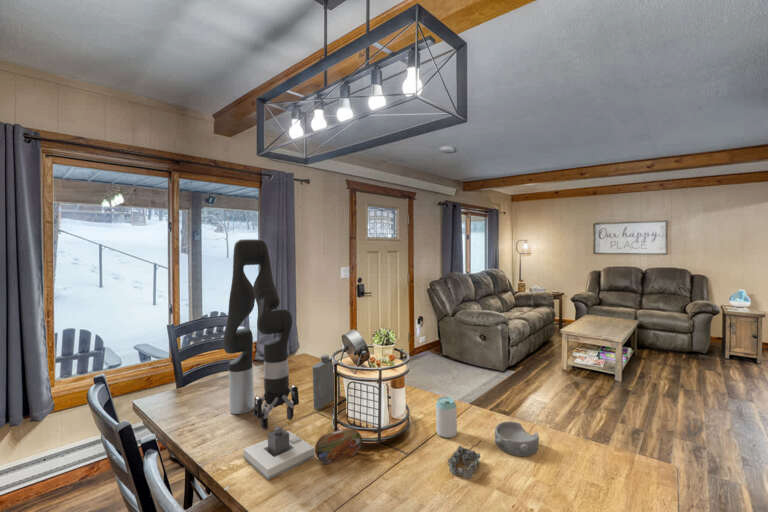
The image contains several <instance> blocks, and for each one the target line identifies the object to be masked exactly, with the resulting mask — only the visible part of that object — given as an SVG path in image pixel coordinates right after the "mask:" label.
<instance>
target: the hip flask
mask: <svg viewBox="0 0 768 512" xmlns="http://www.w3.org/2000/svg"><path fill="white" fill-rule="evenodd" d="M320 359H321V360H320V361H319V362H317V363H316V364H313V365H312V391H313V392H312V396H313V397H312V398H313V410H314V409H316V410H315V411H318V410H317V409H320V410H321V409H323V408H324V407H325V406H327V405H328V404H330V403H332V402H333V401H335V400H334V373H333V365H332V357H330V355H329V354H322V355H321V356H320ZM339 396H340V397H341V377H339V376H338V399H340V398H339ZM332 400H333V401H332ZM329 402H330V403H329ZM327 403H328V404H327ZM326 404H327V405H326ZM324 405H325V406H324ZM323 406H324V407H323Z"/></svg>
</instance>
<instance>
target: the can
mask: <svg viewBox="0 0 768 512" xmlns="http://www.w3.org/2000/svg"><path fill="white" fill-rule="evenodd" d="M457 412H458V411H457V403H456V402H455V399H454V398H452V397H450V396H449V397H448V396H442V397H439V398H438V399H437V402H436V403H435V413H436V414H435V415H436V416H435V418H436V419H435V420H436V423H435V425H436V433H437V435H438V436H440V437H441V436H442V438H445V439H450V438H451V439H452V438H453V437H455V436H457V434H458V427H457V426H458V424H457V423H458V421H457V419H458V417H457V415H458V414H457Z"/></svg>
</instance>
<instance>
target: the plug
mask: <svg viewBox="0 0 768 512" xmlns="http://www.w3.org/2000/svg"><path fill="white" fill-rule="evenodd" d="M286 431H287V430H285V429H284V428H283V426H276V427H274V429H273V431H271V432H268V433H267V439H268V453H270V454H271V455H272V456H273V457H276V456H278V455H280V454H282V453H284V452H287V451H289V450H290V448H289V433H288V432H286Z"/></svg>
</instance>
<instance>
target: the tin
mask: <svg viewBox="0 0 768 512" xmlns="http://www.w3.org/2000/svg"><path fill="white" fill-rule="evenodd" d="M362 443H363V439H362V435H361V433H360V432H359V431H358V430H356V429H354V428H352V427H347V428H342V429H340V430H336V431H333V432H332V431H331V432H328V433H326V434H323V435H322V436H320V437H319V438H318V440H317V442H316V443H315V446H314V450H315V457H316V458H317V459H318V461H319V463H321V464H324V465H328V464H329V465H330V464H332V463H336V462H339V461H342V460H345V459H348V458H349V459H350V458H351V457H354V456H355V455H356V454H357V453H358V452H359V451H360V450H361V447H362Z"/></svg>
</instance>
